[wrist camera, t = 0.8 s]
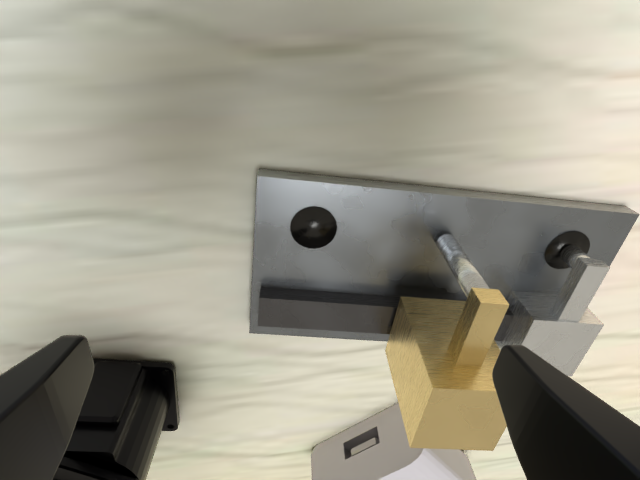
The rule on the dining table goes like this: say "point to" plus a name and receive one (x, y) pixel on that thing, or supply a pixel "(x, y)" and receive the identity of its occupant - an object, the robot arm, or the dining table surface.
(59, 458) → the robot arm
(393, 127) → the dining table surface
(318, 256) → the dividers base
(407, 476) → the charger
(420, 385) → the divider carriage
